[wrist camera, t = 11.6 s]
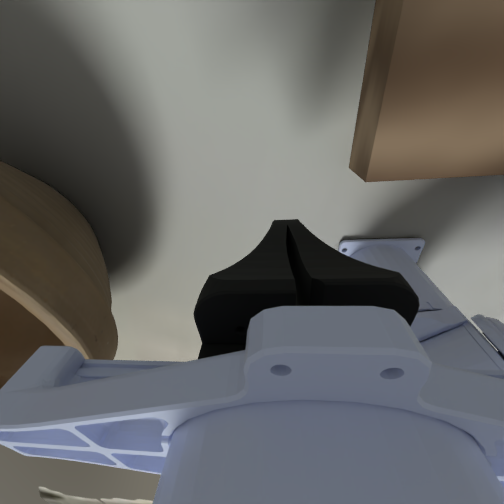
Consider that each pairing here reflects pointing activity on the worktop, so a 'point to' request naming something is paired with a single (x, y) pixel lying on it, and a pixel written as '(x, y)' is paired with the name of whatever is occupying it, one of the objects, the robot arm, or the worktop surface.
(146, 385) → the robot arm
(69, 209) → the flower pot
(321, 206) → the worktop surface
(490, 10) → the walnut board
